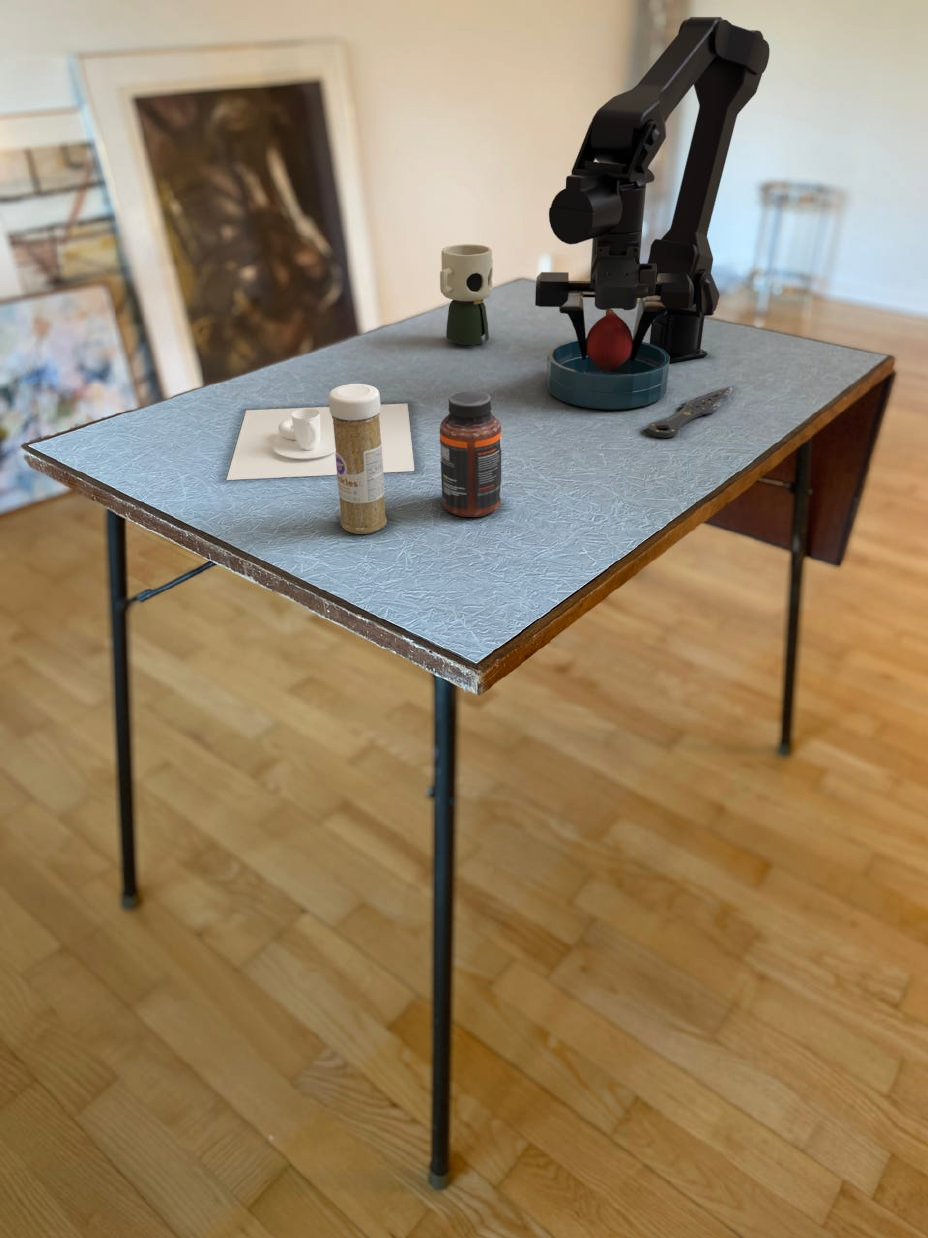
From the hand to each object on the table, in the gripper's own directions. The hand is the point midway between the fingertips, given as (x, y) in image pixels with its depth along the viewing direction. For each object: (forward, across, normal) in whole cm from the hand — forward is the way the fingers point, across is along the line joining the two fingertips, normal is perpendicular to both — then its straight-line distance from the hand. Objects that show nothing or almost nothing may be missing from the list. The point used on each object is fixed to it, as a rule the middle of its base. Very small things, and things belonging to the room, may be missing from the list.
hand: (607, 359), depth 118 cm
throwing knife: (+4, +11, -7) cm, 13 cm away
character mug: (+4, -20, +19) cm, 27 cm away
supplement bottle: (+4, -14, -34) cm, 37 cm away
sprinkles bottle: (+4, -25, -38) cm, 46 cm away
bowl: (+4, 0, 0) cm, 4 cm away
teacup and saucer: (+4, -33, -18) cm, 38 cm away
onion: (+2, 0, 0) cm, 2 cm away
